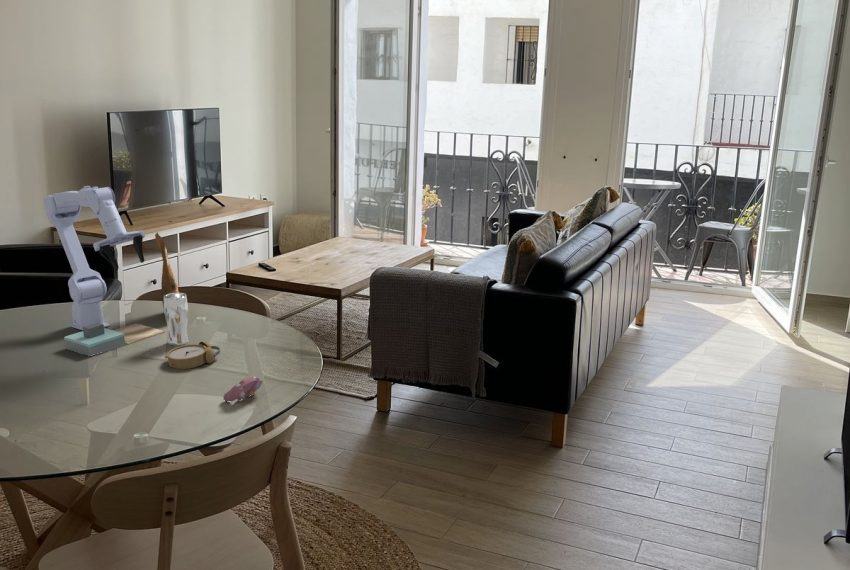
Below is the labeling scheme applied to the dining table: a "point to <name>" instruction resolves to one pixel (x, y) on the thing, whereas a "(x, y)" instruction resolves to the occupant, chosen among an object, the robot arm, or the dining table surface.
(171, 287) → the pancake mix bag
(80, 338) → the lid
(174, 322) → the beer glass
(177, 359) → the alarm clock
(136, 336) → the cork pad
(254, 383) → the video game controller
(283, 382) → the dining table surface
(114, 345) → the grey square slab
